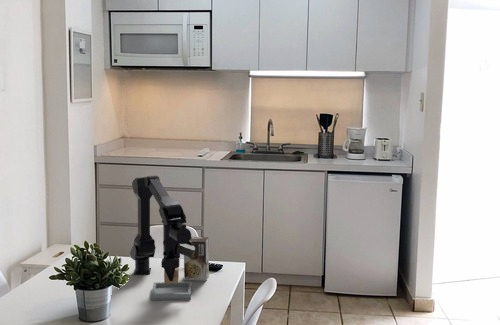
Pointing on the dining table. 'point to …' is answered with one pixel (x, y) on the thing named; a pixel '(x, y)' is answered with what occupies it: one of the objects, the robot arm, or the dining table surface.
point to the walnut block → (175, 278)
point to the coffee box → (197, 260)
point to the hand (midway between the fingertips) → (171, 278)
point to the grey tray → (171, 291)
